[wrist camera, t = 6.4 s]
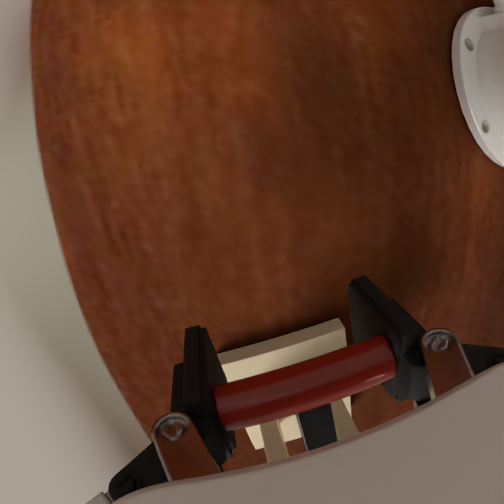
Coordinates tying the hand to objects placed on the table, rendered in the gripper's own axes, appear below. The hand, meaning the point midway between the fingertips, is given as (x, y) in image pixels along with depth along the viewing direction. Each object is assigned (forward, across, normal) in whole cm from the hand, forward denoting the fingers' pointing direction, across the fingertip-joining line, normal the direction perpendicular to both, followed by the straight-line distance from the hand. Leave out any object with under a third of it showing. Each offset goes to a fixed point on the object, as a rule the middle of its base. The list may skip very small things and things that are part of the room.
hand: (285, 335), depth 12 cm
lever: (-3, 0, +5) cm, 6 cm away
